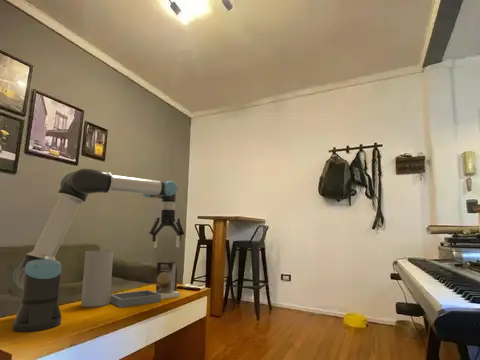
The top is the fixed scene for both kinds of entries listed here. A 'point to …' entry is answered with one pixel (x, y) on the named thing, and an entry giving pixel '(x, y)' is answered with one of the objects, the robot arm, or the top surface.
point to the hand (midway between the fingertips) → (166, 247)
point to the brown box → (176, 279)
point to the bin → (134, 298)
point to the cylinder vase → (97, 278)
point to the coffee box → (165, 277)
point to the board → (169, 294)
